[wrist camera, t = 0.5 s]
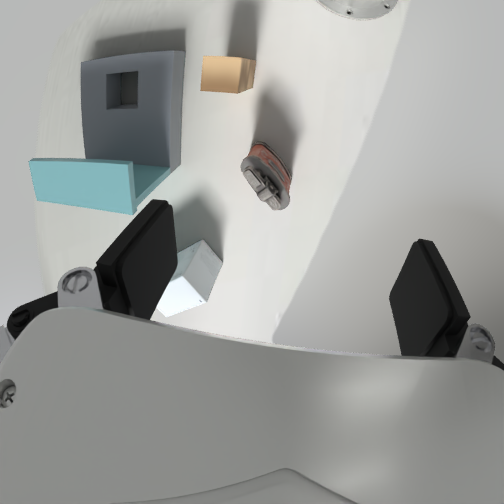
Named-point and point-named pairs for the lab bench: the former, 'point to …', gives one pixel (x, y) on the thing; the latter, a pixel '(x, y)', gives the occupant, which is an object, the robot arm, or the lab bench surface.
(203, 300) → the skincare box
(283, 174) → the lighter
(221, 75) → the peg
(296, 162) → the lab bench surface
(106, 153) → the socket block
